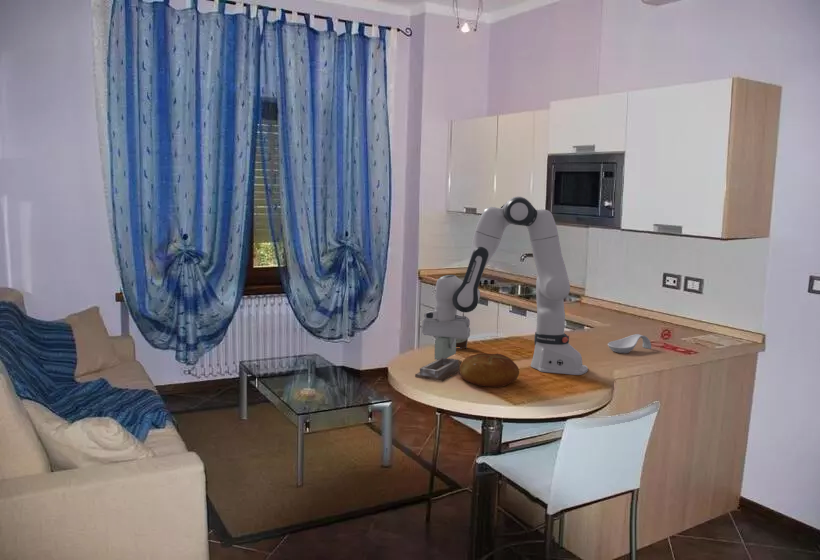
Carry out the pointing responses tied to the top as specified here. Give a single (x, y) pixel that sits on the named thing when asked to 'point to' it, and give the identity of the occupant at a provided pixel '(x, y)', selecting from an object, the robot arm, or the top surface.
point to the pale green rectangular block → (444, 348)
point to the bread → (489, 370)
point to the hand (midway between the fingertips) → (445, 347)
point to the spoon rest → (628, 343)
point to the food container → (461, 343)
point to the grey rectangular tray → (439, 369)
